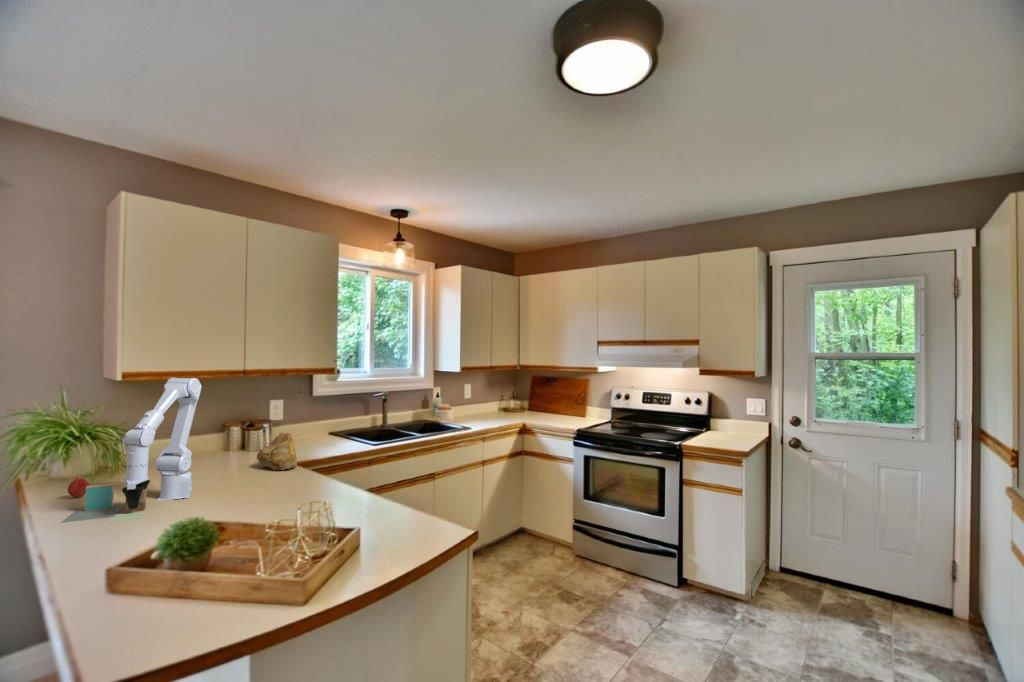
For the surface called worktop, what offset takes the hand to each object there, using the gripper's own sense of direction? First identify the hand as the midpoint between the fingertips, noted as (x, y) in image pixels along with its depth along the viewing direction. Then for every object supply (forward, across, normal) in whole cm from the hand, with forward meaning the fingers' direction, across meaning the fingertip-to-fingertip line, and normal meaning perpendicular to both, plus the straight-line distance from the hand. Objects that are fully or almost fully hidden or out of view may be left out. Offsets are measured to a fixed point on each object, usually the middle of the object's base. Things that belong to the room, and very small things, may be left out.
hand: (135, 505), depth 158 cm
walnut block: (+2, 0, 0) cm, 2 cm away
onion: (+2, -26, -22) cm, 34 cm away
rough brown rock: (+2, -52, +43) cm, 67 cm away
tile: (+2, -6, -11) cm, 13 cm away
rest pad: (+2, +6, -1) cm, 7 cm away
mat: (+2, -2, -11) cm, 11 cm away
